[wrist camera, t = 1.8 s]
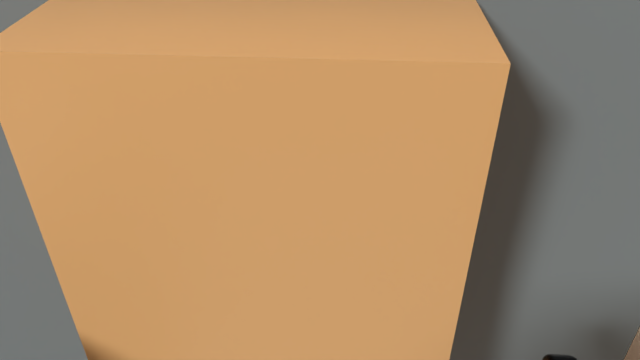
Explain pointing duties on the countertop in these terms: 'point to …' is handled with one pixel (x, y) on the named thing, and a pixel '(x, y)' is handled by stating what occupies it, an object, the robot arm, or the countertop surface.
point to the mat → (497, 205)
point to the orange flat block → (256, 170)
